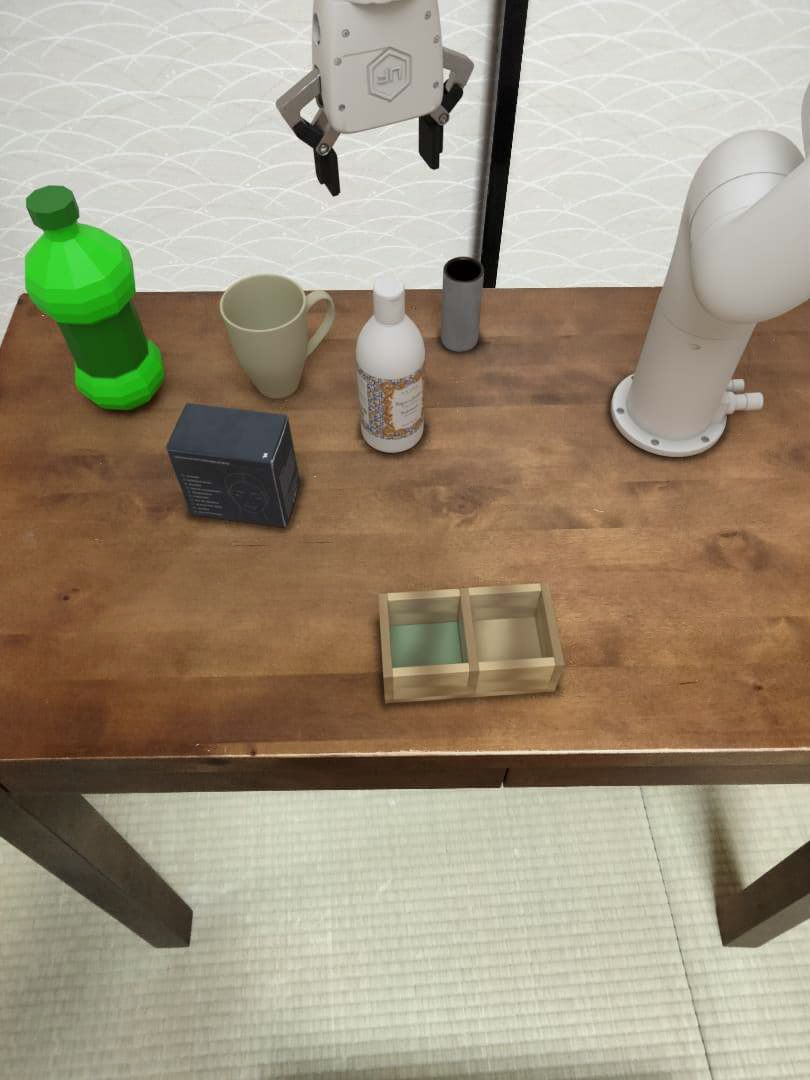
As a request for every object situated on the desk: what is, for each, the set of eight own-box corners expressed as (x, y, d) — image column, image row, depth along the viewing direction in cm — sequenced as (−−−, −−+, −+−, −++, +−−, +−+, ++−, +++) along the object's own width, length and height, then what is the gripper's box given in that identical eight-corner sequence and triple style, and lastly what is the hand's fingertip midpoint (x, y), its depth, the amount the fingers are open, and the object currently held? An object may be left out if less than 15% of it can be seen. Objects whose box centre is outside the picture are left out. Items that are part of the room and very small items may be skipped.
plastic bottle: (190, 374, 96) (128, 178, 75) (142, 438, 90) (62, 246, 70) (116, 352, 98) (37, 156, 77) (66, 413, 93) (-34, 220, 72)
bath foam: (383, 464, 88) (376, 322, 72) (349, 424, 91) (336, 278, 75) (435, 437, 90) (441, 292, 74) (401, 399, 94) (399, 251, 77)
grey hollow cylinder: (483, 348, 98) (489, 278, 89) (447, 355, 97) (450, 285, 89) (470, 323, 100) (476, 252, 92) (435, 330, 100) (437, 260, 91)
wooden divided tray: (540, 613, 78) (548, 582, 73) (554, 691, 74) (565, 664, 69) (380, 623, 78) (378, 593, 73) (384, 703, 73) (383, 677, 68)
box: (302, 479, 87) (290, 413, 78) (287, 529, 84) (272, 466, 75) (206, 466, 88) (184, 400, 80) (187, 515, 85) (162, 451, 76)
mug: (305, 422, 92) (292, 342, 82) (226, 400, 94) (204, 319, 84) (342, 357, 97) (334, 275, 87) (267, 338, 99) (251, 254, 89)
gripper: (276, 4, 56) (304, 222, 70) (500, -43, 60) (484, 173, 74) (244, -40, 60) (277, 175, 74) (456, -81, 64) (448, 131, 78)
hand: (380, 174), depth 74 cm, fingers open, 9 cm apart
